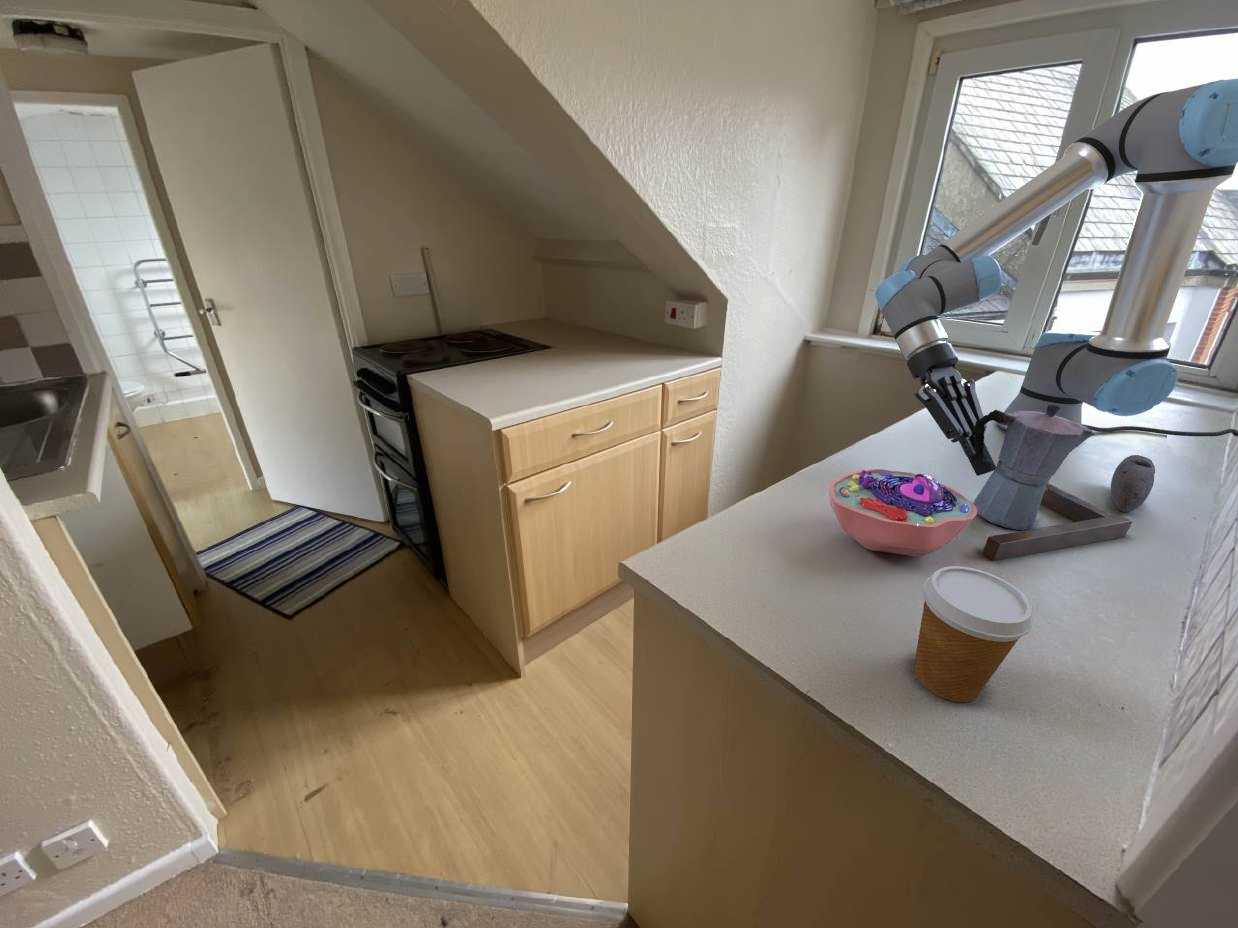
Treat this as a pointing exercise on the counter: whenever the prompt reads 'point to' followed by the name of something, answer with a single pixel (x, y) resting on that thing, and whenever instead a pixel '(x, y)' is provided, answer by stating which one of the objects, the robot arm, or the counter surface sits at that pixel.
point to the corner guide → (1060, 528)
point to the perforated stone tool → (1132, 482)
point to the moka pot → (1024, 463)
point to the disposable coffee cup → (967, 630)
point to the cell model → (899, 511)
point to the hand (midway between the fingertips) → (986, 472)
